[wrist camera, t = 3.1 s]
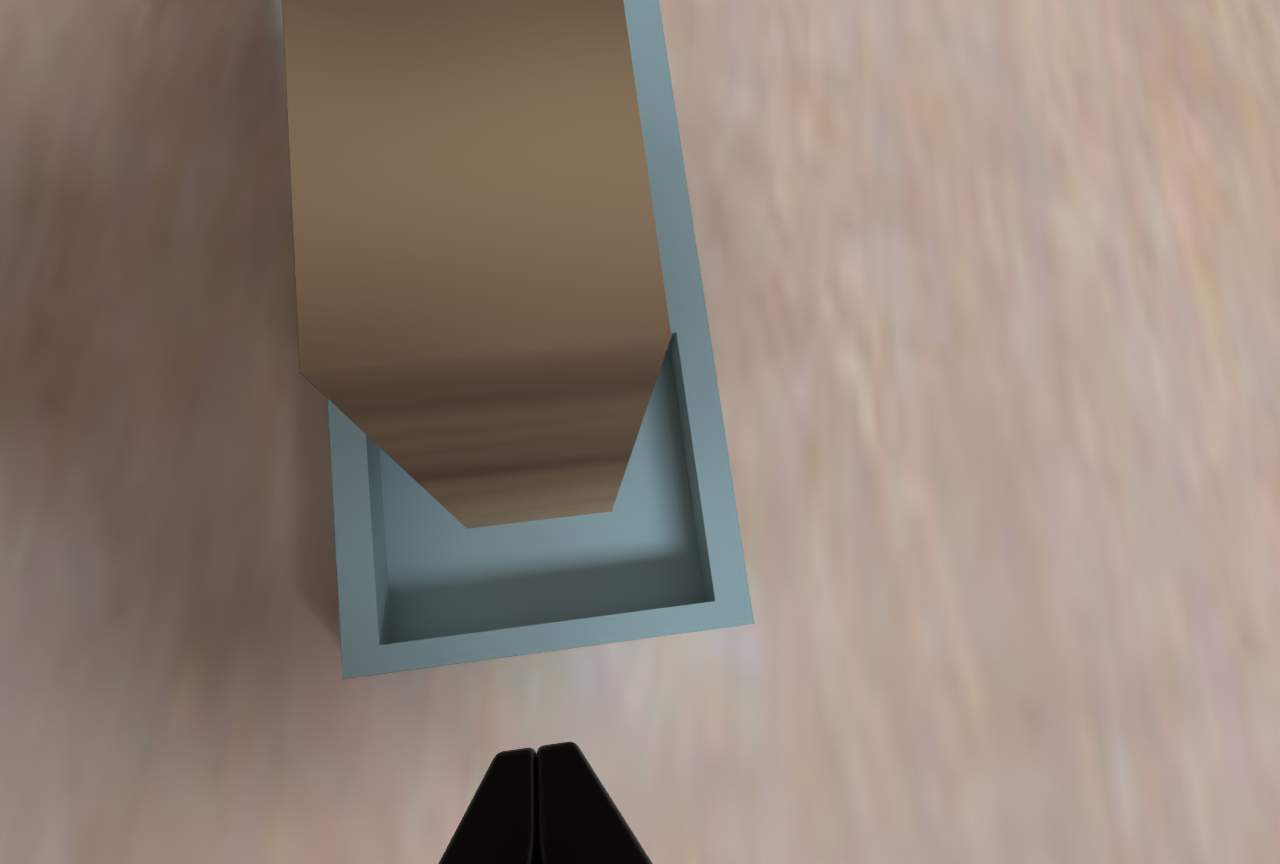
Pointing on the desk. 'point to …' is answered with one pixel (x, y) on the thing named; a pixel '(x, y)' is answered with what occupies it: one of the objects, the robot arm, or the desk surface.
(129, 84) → the desk surface
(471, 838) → the robot arm
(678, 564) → the slot base
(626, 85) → the brown wooden block
